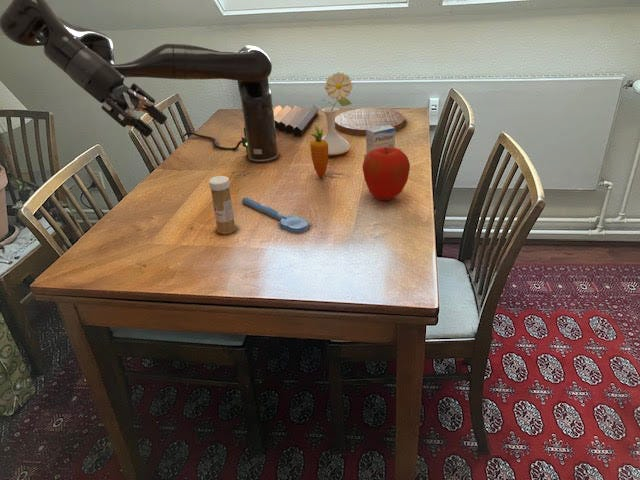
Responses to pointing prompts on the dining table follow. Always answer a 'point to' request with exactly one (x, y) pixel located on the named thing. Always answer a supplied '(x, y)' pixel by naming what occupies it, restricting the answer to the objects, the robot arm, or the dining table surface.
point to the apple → (386, 172)
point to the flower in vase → (338, 89)
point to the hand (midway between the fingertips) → (157, 127)
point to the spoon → (280, 217)
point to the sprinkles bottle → (222, 204)
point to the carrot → (319, 153)
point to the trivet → (368, 120)
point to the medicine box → (380, 137)
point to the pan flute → (294, 118)
